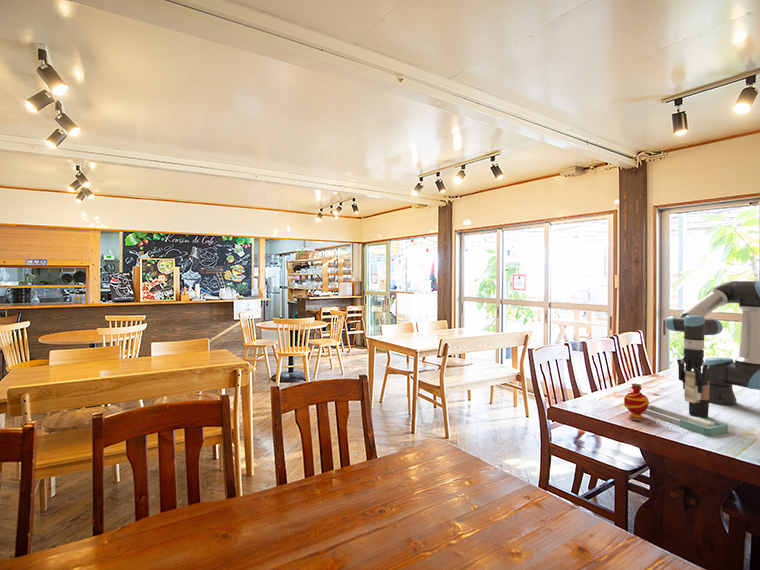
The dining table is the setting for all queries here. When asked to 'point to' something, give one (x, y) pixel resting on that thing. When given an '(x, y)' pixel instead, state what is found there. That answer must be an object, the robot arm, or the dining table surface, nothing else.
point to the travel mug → (701, 404)
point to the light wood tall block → (690, 386)
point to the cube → (705, 423)
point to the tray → (705, 428)
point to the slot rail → (667, 412)
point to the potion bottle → (636, 401)
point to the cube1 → (694, 420)
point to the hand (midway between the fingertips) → (692, 397)
